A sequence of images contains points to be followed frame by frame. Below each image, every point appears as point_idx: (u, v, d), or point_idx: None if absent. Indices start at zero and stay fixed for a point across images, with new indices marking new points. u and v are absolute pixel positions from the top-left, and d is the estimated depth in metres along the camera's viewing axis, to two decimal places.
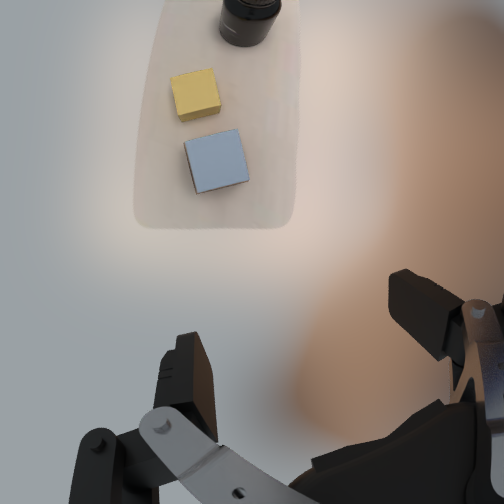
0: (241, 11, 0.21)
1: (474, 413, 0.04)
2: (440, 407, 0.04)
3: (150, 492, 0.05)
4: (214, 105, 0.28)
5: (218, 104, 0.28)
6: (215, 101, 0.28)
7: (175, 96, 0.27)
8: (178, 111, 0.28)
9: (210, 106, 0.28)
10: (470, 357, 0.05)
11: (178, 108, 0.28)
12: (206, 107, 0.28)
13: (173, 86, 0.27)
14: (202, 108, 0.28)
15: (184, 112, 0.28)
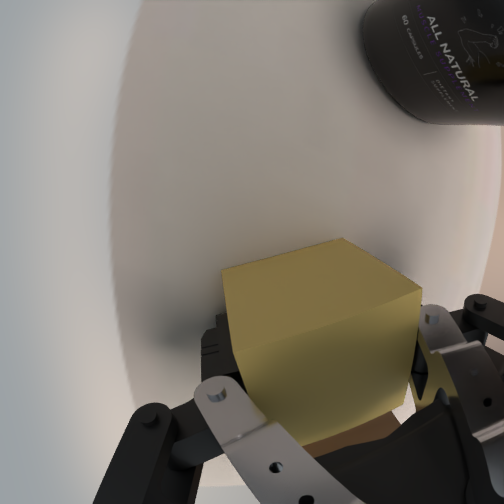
0: None
1: None
2: (440, 407, 0.04)
3: (192, 472, 0.06)
4: (386, 410, 0.08)
5: (397, 405, 0.08)
6: (393, 401, 0.08)
7: None
8: None
9: (375, 415, 0.08)
10: (435, 367, 0.05)
11: None
12: (363, 421, 0.08)
13: (253, 387, 0.06)
14: (351, 425, 0.08)
15: None
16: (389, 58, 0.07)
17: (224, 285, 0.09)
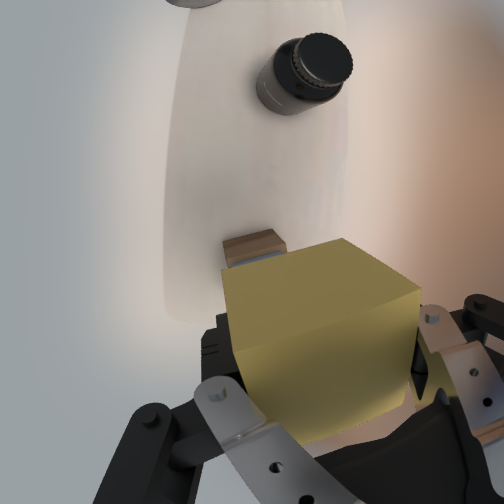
0: (298, 89, 0.20)
1: None
2: (440, 407, 0.04)
3: (193, 472, 0.06)
4: (386, 410, 0.08)
5: (397, 404, 0.08)
6: (393, 401, 0.08)
7: None
8: None
9: (374, 415, 0.08)
10: (435, 367, 0.05)
11: None
12: (363, 420, 0.08)
13: (253, 386, 0.06)
14: (350, 425, 0.08)
15: None
16: (260, 95, 0.26)
17: (224, 285, 0.09)
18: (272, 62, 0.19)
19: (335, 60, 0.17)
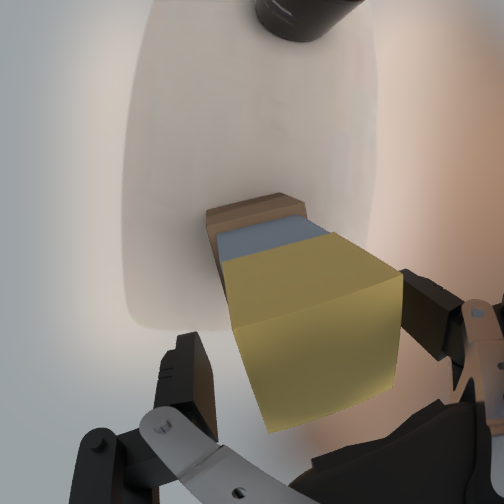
0: None
1: (474, 413, 0.04)
2: (440, 407, 0.04)
3: (150, 492, 0.05)
4: (376, 392, 0.09)
5: (387, 388, 0.09)
6: (382, 383, 0.09)
7: (259, 393, 0.08)
8: (270, 426, 0.08)
9: (365, 397, 0.09)
10: (470, 357, 0.05)
11: (270, 420, 0.08)
12: (354, 402, 0.09)
13: (250, 362, 0.07)
14: (343, 406, 0.09)
15: (289, 425, 0.08)
16: (261, 12, 0.15)
17: (224, 274, 0.10)
18: None
19: None
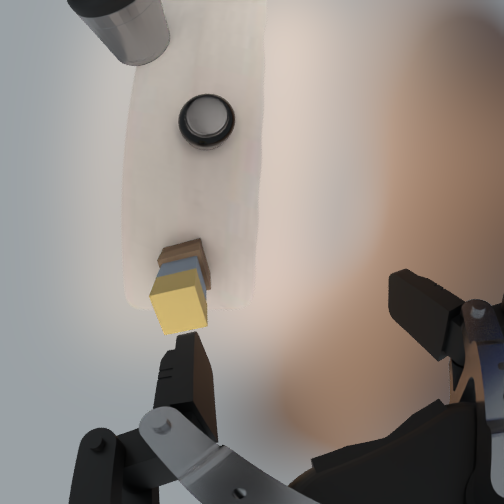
0: (194, 139, 0.30)
1: (474, 413, 0.04)
2: (440, 407, 0.04)
3: (150, 492, 0.05)
4: (200, 326, 0.29)
5: (204, 325, 0.29)
6: (201, 322, 0.29)
7: (158, 316, 0.28)
8: (164, 331, 0.29)
9: (196, 327, 0.29)
10: (470, 357, 0.05)
11: (163, 328, 0.29)
12: (192, 328, 0.29)
13: (154, 306, 0.28)
14: (188, 329, 0.29)
15: (170, 332, 0.29)
16: None
17: (155, 282, 0.31)
18: (178, 119, 0.29)
19: (213, 115, 0.27)
